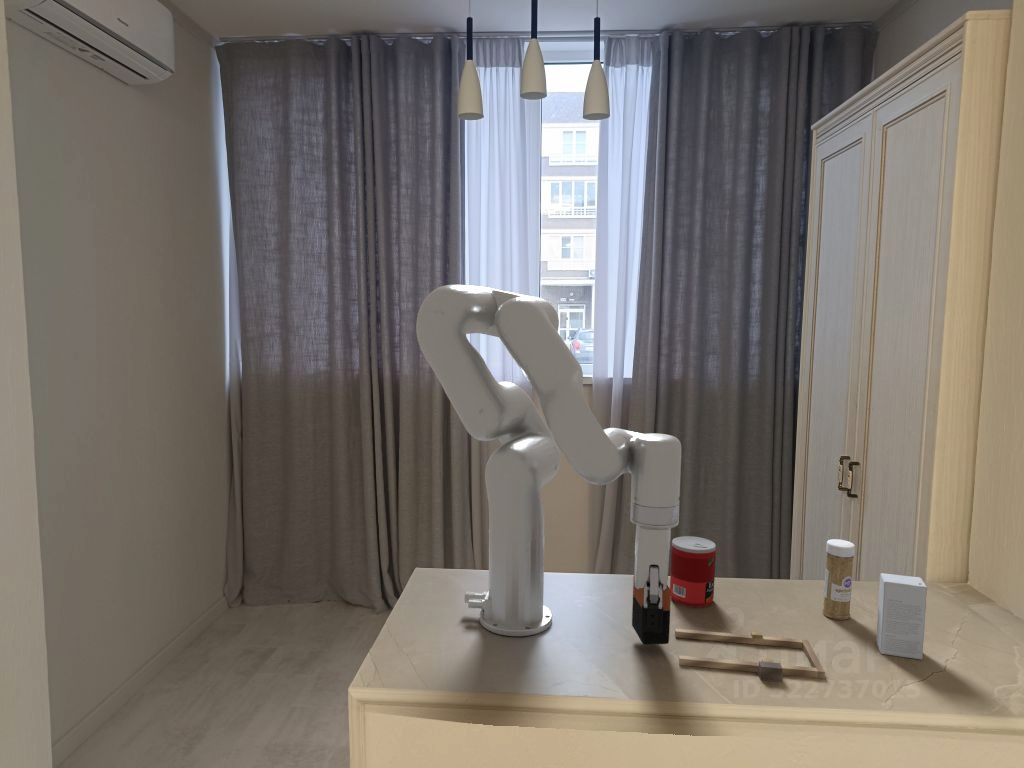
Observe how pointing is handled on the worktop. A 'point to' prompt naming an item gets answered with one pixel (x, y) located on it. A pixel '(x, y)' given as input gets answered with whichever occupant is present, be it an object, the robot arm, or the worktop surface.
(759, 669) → the track
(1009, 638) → the worktop surface
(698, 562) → the canned food
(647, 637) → the battery
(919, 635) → the skincare box
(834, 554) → the sprinkles bottle
